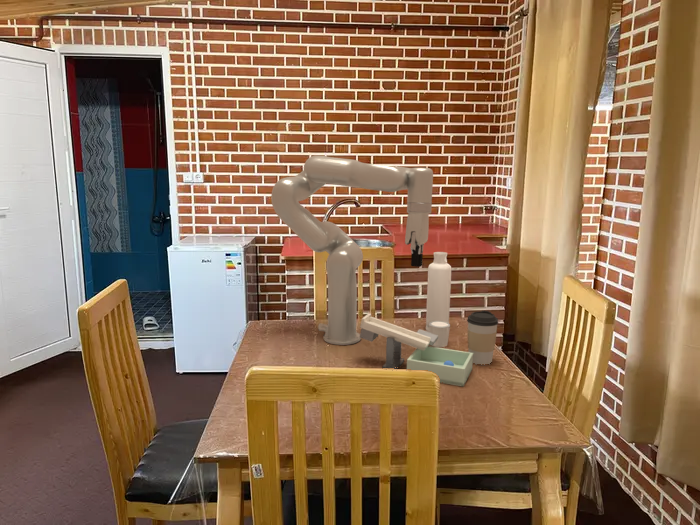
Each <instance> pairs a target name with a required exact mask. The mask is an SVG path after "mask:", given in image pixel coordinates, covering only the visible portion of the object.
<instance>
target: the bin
mask: <svg viewBox="0 0 700 525" xmlns="http://www.w3.org/2000/svg"><path fill="white" fill-rule="evenodd" d="M446 361H452V362H453V364H454V366H449V365H443V364H444V362H446ZM407 369H411V370H428V371H432V372H434V373H436V374H437V375H438V376H439V378H440V382H439V383H440V384H445V385H446V384H447V385H452V386H457V387H465V384H466V383H467V381H468V379H469V376H470V375H471V372H472V371H473V353H470V352H468V351H462V350H457V349H451V348H444V347H435V346H432V345H428V346H427V348H426V349H425V350H424V351H423V350H420V349H418V348H415V350H414V351H413V352H412V353H411V354H410V356H409V357H408V358H407V359H406V370H407ZM442 382H443V383H442Z"/></svg>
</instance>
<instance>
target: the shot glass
mask: <svg viewBox="0 0 700 525" xmlns="http://www.w3.org/2000/svg"><path fill="white" fill-rule="evenodd" d="M450 330H451V324H450V322H449V323H447V322H443V321H433V322H430V323H429V333H432V334H435V335H438V339H437V340H436V342H435V343H434V344H433V345H431V347H438V348H444V347H447V346H448V342H449V337H450Z"/></svg>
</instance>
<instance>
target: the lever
mask: <svg viewBox="0 0 700 525" xmlns="http://www.w3.org/2000/svg"><path fill="white" fill-rule="evenodd" d="M359 328H360V329H361V330H360V333H359V334H360V338H361V339H363V340H366V341H368V342H371V343H372V342H373V341H374V340H376V339H377V338H378V337H379V335H380V336H382V337H385V338H387V337H390V338H394V340H396V341H398V342H401V343H402V344H404V345H407V346H410V347H412V348H415V349H417V348H418V349H420V350H423V351H424V350H425V349H426V348H427V346H432V345H433V344H434V343H435V342H436V340H437V339H438V335H435V334H432V333H430V332H428V331H426V330H424V329H421V328H419V329H418V330H417V331H413V330H410V329H408V328H404V327H402V326H400V325H396V324H394V323H391V322H389V321H384V320H383V319H379V318H376V317H374V316H372V313H367V314H366V315H365V316H363V317H362V318H361V323H360V326H359Z"/></svg>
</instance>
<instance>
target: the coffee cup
mask: <svg viewBox="0 0 700 525" xmlns="http://www.w3.org/2000/svg"><path fill="white" fill-rule="evenodd" d="M498 324H499V319H498V318H497V317H496V316H495V314H494V313H492V312H491V311H489V310H481V311H472V313H471V314H469V315H468V316H467V348H468V351H467V352H470V353H473V363H475V364H474V365H477V364H481V365H480V366H486V365H485V364H489V365H491V364H492V363H491V362H493V357H494V351H495V347H496V341H497V332H498V330H497V329H498ZM490 363H491V364H490ZM482 364H484V365H482Z"/></svg>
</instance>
